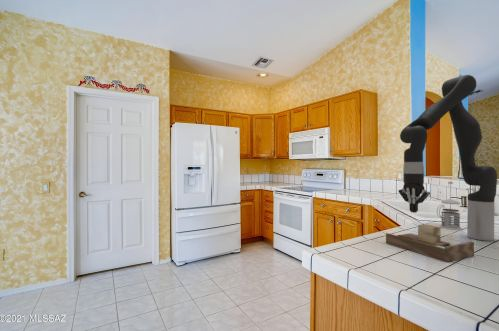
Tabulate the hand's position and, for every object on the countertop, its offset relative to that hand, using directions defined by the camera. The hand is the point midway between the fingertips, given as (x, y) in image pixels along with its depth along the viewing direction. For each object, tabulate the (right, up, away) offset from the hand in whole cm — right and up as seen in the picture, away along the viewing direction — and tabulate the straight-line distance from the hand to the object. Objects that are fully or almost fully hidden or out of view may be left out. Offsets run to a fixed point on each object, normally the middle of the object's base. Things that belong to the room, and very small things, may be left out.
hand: (413, 212), depth 112 cm
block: (+2, -11, -6) cm, 13 cm away
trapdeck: (-1, -13, -9) cm, 16 cm away
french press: (+36, -14, +27) cm, 47 cm away
